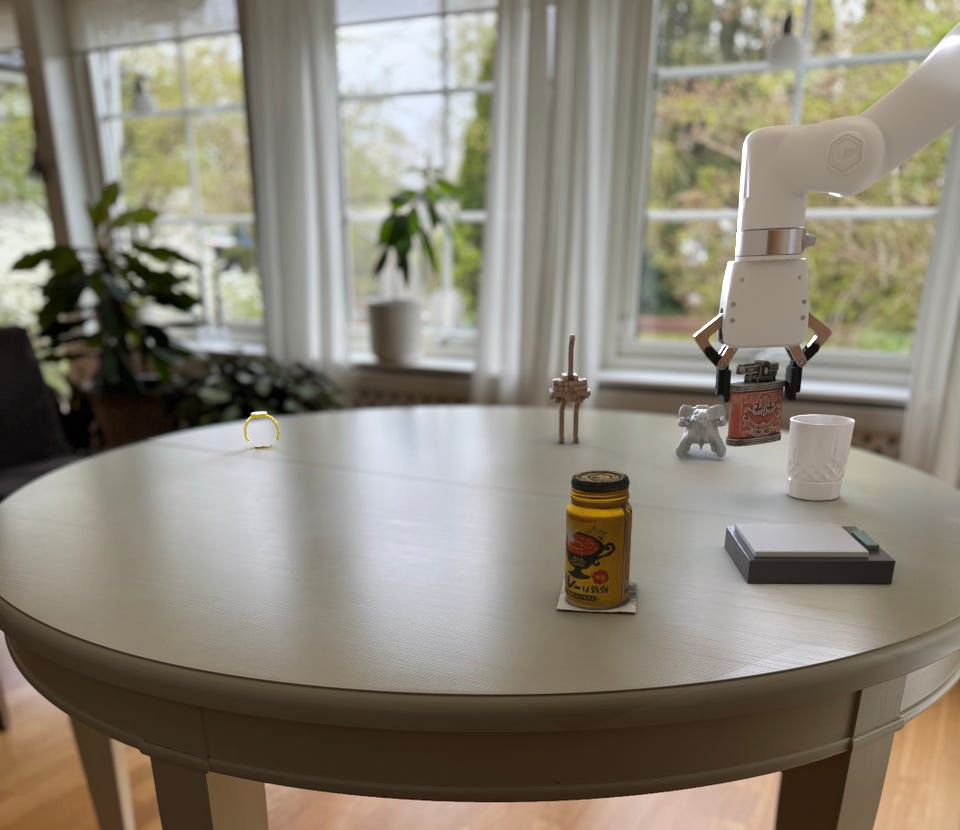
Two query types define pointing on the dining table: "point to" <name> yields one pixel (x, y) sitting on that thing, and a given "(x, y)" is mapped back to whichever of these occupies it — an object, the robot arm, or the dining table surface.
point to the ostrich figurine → (569, 392)
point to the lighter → (755, 405)
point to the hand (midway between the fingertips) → (756, 399)
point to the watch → (260, 415)
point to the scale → (807, 554)
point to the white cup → (817, 455)
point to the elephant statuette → (701, 428)
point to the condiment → (598, 545)
